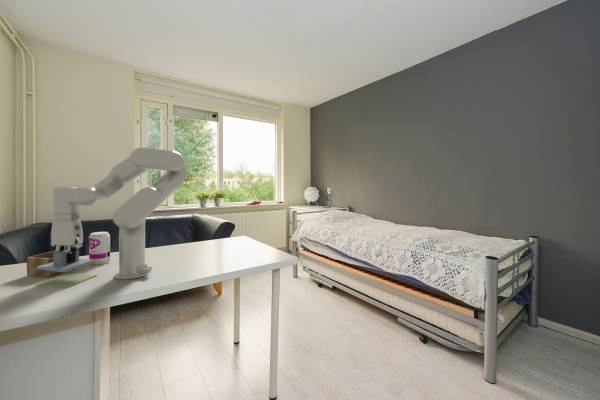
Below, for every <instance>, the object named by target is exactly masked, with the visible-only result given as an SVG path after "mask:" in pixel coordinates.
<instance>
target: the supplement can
mask: <svg viewBox="0 0 600 400" xmlns="http://www.w3.org/2000/svg"><path fill="white" fill-rule="evenodd" d="M88 260H93V263H90V264H89V265H91V266H92V265H93V266H99V265H105V264H107V263H109V262H110V261H111V234H110V233H109V232H108V231H95V232H91V233H90V234H89V236H88Z"/></svg>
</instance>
